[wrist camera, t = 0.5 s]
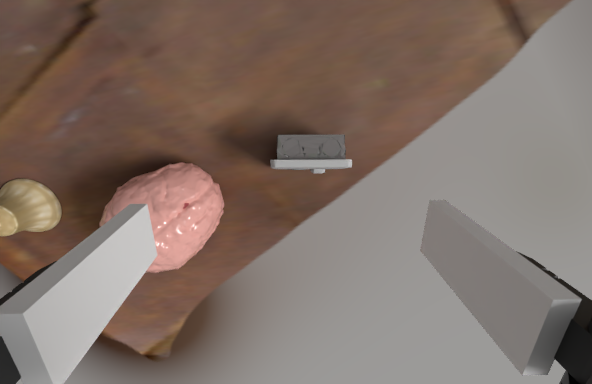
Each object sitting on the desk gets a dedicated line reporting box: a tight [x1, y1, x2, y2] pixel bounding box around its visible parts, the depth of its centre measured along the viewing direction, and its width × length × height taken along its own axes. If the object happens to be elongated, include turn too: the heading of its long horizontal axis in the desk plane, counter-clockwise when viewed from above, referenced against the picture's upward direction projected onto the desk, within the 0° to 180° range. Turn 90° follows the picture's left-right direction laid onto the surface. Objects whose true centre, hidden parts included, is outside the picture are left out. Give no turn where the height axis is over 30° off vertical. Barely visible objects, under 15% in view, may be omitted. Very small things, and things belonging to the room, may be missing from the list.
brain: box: [99, 162, 224, 273], centre depth 38 cm, size 16×13×12 cm
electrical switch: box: [270, 135, 352, 173], centre depth 36 cm, size 9×5×9 cm, turn 90°
